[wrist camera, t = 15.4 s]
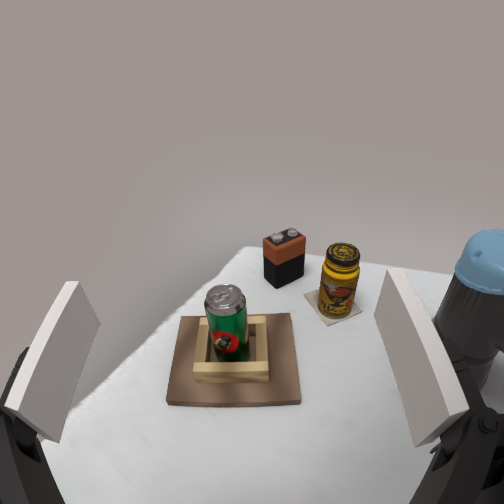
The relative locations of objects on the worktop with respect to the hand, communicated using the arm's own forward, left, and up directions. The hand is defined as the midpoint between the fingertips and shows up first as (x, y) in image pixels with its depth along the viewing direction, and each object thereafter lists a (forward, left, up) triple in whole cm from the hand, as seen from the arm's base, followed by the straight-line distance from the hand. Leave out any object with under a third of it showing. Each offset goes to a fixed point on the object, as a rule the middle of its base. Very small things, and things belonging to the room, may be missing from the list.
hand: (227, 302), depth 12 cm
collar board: (+3, -18, -30) cm, 35 cm away
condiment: (-14, -29, -30) cm, 44 cm away
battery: (-6, -37, -30) cm, 47 cm away
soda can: (+3, -18, -28) cm, 33 cm away
